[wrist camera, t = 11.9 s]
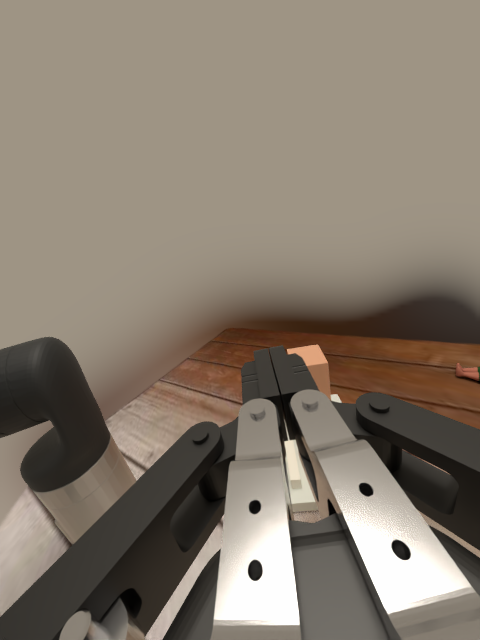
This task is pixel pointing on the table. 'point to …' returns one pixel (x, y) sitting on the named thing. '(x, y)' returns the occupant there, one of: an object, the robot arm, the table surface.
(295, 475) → the white stand base
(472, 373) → the toy character
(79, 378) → the robot arm
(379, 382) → the table surface
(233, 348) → the table surface
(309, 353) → the block
